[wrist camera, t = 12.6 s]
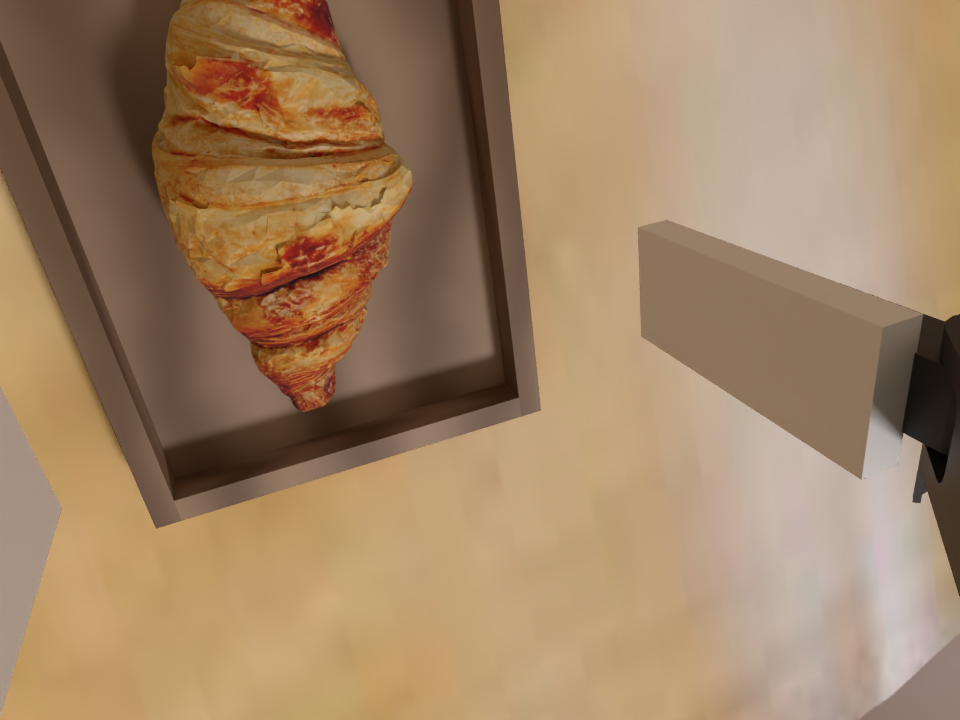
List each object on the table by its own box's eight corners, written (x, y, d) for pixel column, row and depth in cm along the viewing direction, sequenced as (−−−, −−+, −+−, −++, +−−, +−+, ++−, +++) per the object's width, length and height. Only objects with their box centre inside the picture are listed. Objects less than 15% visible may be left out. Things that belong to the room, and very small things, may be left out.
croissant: (167, -95, 29) (26, -143, 22) (404, -112, 27) (339, -170, 20) (251, 371, 37) (170, 448, 30) (436, 377, 36) (397, 459, 29)
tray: (159, 494, 36) (156, 528, 34) (-138, -218, 23) (-181, -251, 20) (519, 387, 41) (540, 410, 39) (446, -244, 28) (471, -273, 26)
